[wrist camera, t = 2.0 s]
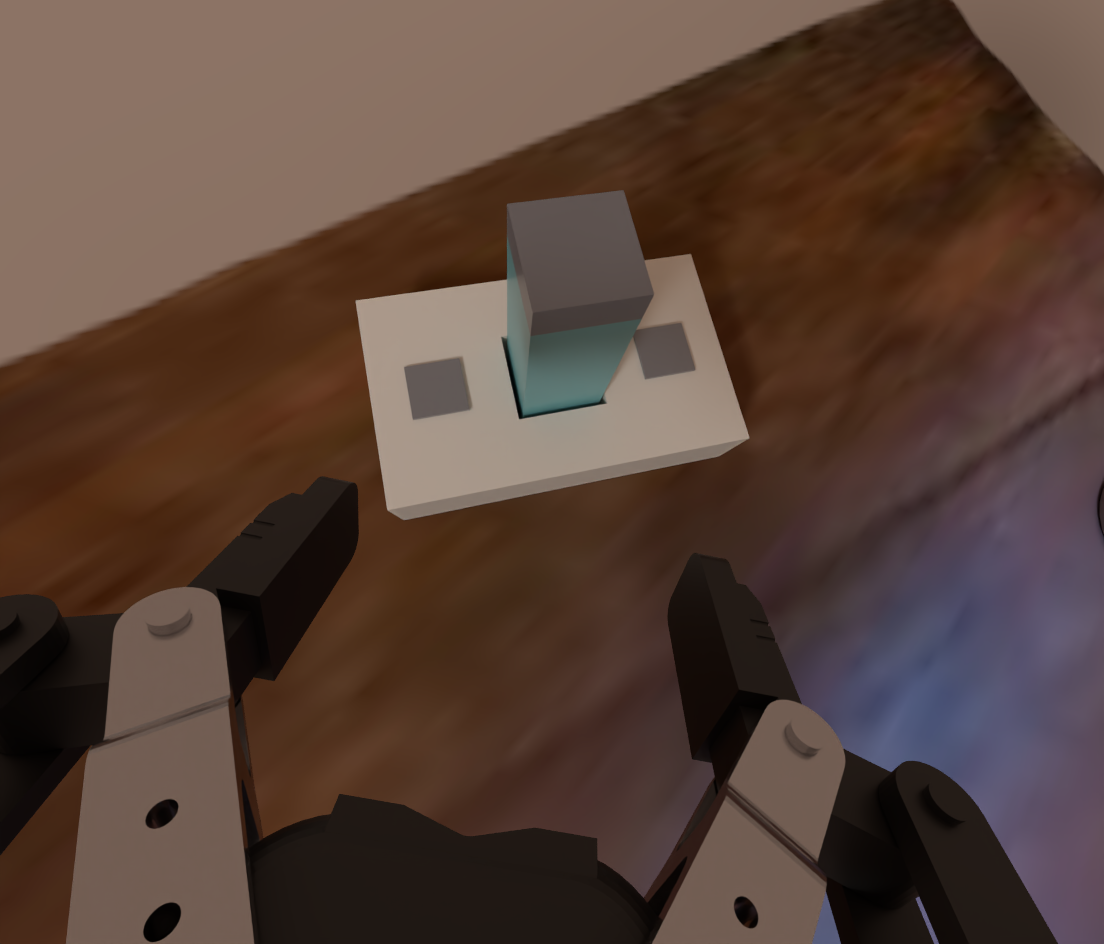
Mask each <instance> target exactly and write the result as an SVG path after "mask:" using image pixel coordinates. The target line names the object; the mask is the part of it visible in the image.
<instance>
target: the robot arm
mask: <svg viewBox="0 0 1104 944" xmlns="http://www.w3.org/2000/svg"><path fill="white" fill-rule="evenodd" d="M1100 520H1101V526H1102V530H1103V533H1104V489H1103V491H1102V495H1101V499H1100ZM358 534H359V530H358V489H357V485H356V484H355V483H353V482H348V481H343V480H338V479H333V478H328V477H323V476H322V477H319V478H318V479H317V480H316V481H315V482H314V483H313V484H312V485H311V486H310V487H309V488H308V489H307V490H306V491H305V492H304V494H303V495H300V494H295V493H291V494H289V495H287V496H285V497H283V498H281V499H279V500H277V501H275V502H273V503H271V504H269V505H268V506H267V507H266V508H265V509H264V510H263V511H262V512H261V513H260V514H259V515H258V516H257V517H256V518H255V519H254V522H253V523H250V524H249V525H248V526H247V527H246V528H245V529H244V530H243V531H242V532H241V535H240V536H237V537H236V538H235V539H234V540H233V541H232V542H231V543H230V544H229V545H228V546H227V547H226V548H225V549H224V550H223V551H222V552H221V553H220V554H219V555H218V556H217V557H216V558H215V559H214V560H213V561H212V562H211V563H210V564H209V565H208V566H207V567H206V568H205V569H204V570H203V571H202V572H201V573H200V574H199V575H198V576H197V577H196V578H195V579H194V580H193V581H192V582H191V583H190V584H189V585H188V586H187V587H181V588H174V589H168V590H165V591H161V592H158V593H155V594H153V595H150V596H148V597H146V598H144V599H142V600H141V601H139V602H137V603H136V604H134V605H133V606H132V607H130V608H129V609H128V610H127V611H126V612H125V613H120V614H106V615H92V616H77V617H62V616H61V614H60V612H59V610H58V608H57V606H56V604H55V603H54V602H53V601H52V600H50V599H48V598H46V597H43V596H39V595H29V594H25V595H12V596H6V597H1V598H0V855H1V854H2V852H3V851H4V850H5V849H6V848H7V846H8V845H9V844H10V843H11V842H12V840H13V839H14V838H15V837H16V835H17V834H18V833H19V832H20V831H21V829H22V828H23V827H24V826H25V824H26V823H27V822H28V821H29V820H30V818H31V817H32V816H33V815H34V813H35V812H36V811H37V810H38V809H39V807H40V806H41V805H42V804H43V802H44V801H45V800H46V799H47V798H48V796H49V795H50V794H51V793H52V792H53V790H54V789H55V788H56V787H57V785H58V784H59V783H60V782H61V781H62V779H63V778H64V777H65V776H66V774H67V773H68V772H69V771H70V770H71V768H72V767H73V766H74V765H75V763H76V762H77V761H78V760H79V759H80V757H81V756H82V755H83V754H84V752H85V751H86V750H87V749H88V748H89V746H90V745H92V747H91V748H90V750H89V753H88V756H87V760H86V766H85V774H84V783H83V793H82V802H81V811H80V820H79V829H78V839H77V848H76V857H75V866H74V875H73V885H72V894H71V903H70V912H69V921H68V930H67V940H66V944H812V941H813V937H814V934H815V930H816V926H817V922H818V918H819V915H820V911H821V907H822V903H823V899H824V895H825V891H826V893H827V896H828V900H829V903H830V907H831V910H832V914H833V917H834V920H835V924H836V927H837V931H838V934H839V938H840V941H841V944H934V942H933V940H932V938H931V935H930V933H929V930H928V928H927V926H926V923H925V921H924V918H923V916H922V913H921V911H920V909H919V906H918V904H917V901H916V899H915V898H917V897H920V899H921V901H922V904H923V906H924V909H925V911H926V913H927V916H928V918H929V920H930V923H931V925H932V928H933V930H934V932H935V935H936V937H937V939H938V942H939V944H1058V943H1057V941H1056V939H1055V938H1054V936H1053V934H1052V932H1051V931H1050V929H1049V927H1048V926H1047V924H1046V922H1045V920H1044V919H1043V917H1042V915H1041V913H1040V912H1039V910H1038V908H1037V907H1036V905H1035V903H1034V901H1033V900H1032V898H1031V896H1030V894H1029V893H1028V891H1027V889H1026V888H1025V886H1024V884H1023V882H1022V881H1021V879H1020V877H1019V875H1018V874H1017V872H1016V870H1015V869H1014V867H1013V865H1012V863H1011V862H1010V860H1009V858H1008V856H1007V855H1006V853H1005V851H1004V850H1003V848H1002V846H1001V844H1000V843H999V841H998V839H997V837H996V836H995V834H994V832H993V831H992V829H991V827H990V825H989V824H988V822H987V820H986V818H985V817H984V815H983V813H982V812H981V810H980V809H979V807H978V806H977V805H976V803H975V802H974V801H973V799H972V798H971V797H970V796H969V795H968V794H967V793H966V792H965V791H964V790H963V789H962V788H961V787H960V786H959V785H958V784H957V783H956V782H955V781H953V780H952V779H951V778H950V777H948V776H947V775H945V774H944V773H943V772H941V771H939V770H938V769H936V768H934V767H932V766H930V765H927V764H925V763H922V762H917V761H906V762H903V763H902V764H900V765H899V766H898V767H897V768H896V769H895V770H894V771H892V772H890V771H887V770H885V769H883V768H881V767H879V766H877V765H875V764H873V763H871V762H869V761H867V760H865V759H863V758H861V757H859V756H857V755H855V754H853V753H851V752H849V751H847V750H845V749H843V747H842V745H841V742H840V741H839V739H838V737H837V735H836V734H835V732H834V731H833V730H832V728H831V727H830V726H829V725H828V724H827V723H826V722H825V721H824V720H823V719H822V718H821V717H820V716H819V715H818V714H816V713H815V712H814V711H812V710H811V709H809V708H808V707H806V706H804V705H802V703H801V701H800V698H799V696H798V694H797V691H796V689H795V686H794V684H793V681H792V679H791V676H790V674H789V672H788V669H787V667H786V664H785V662H784V659H783V657H782V654H781V652H780V649H779V647H778V645H777V643H775V637H774V635H773V632H772V630H771V627H770V626H768V623H769V622H768V620H767V618H766V615H765V613H764V610H763V608H762V605H761V603H760V602H759V601H758V600H757V598H756V597H755V596H754V595H753V594H752V592H751V591H750V590H749V589H748V588H747V586H746V585H743V584H738V583H736V580H735V577H734V575H733V572H732V569H731V566H730V564H729V562H728V561H727V560H726V559H723V558H718V557H713V556H708V555H703V554H698V553H694V554H692V555H691V557H690V558H689V560H688V562H687V565H686V567H685V569H684V571H683V573H682V575H681V577H680V579H679V582H678V584H677V586H676V588H675V590H674V592H673V594H672V597H671V599H670V603H669V608H668V626H669V632H670V637H671V643H672V649H673V654H674V660H675V665H676V671H677V677H678V682H679V688H680V693H681V699H682V705H683V710H684V716H685V722H686V727H687V733H688V738H689V744H690V750H691V755H692V759H694V760H699V761H705V762H710V763H712V765H713V770H714V775H715V777H714V778H713V780H712V781H711V783H710V784H709V786H708V788H707V789H706V791H705V793H704V795H703V797H702V799H701V800H700V802H699V804H698V806H697V808H696V810H695V811H694V813H693V815H692V817H691V819H690V820H689V822H688V824H687V826H686V828H685V830H684V831H683V833H682V835H681V837H680V839H679V841H678V842H677V844H676V846H675V848H674V850H673V851H672V853H671V855H670V857H669V859H668V860H667V862H666V864H665V865H664V867H663V868H662V870H661V872H660V873H659V875H658V876H657V878H656V879H655V881H654V882H653V884H652V885H651V887H650V889H649V890H648V892H647V894H646V895H645V897H644V898H643V897H642V896H641V895H640V894H639V893H638V891H637V890H636V889H635V888H634V887H633V886H632V885H631V884H630V883H629V882H628V881H626V880H625V879H624V878H623V877H622V876H621V875H620V874H618V873H617V872H616V871H614V870H613V869H611V868H610V867H608V866H607V865H606V864H604V863H602V862H600V861H598V860H597V838H591V837H585V836H580V835H574V834H568V833H562V832H557V831H551V830H545V829H539V828H530V829H522V830H515V831H508V832H501V833H494V834H486V835H479V836H463V835H461V834H459V833H457V832H455V831H453V830H451V829H449V828H447V827H445V826H443V825H441V824H439V823H437V822H435V821H434V820H432V819H430V818H428V817H426V816H424V815H422V814H420V813H418V812H416V811H414V810H412V809H410V808H409V807H407V806H405V805H401V804H395V803H389V802H383V801H378V800H372V799H366V798H360V797H354V796H349V795H343V794H339V796H338V799H337V801H336V803H335V806H334V808H333V811H332V813H331V814H329V815H322V816H317V817H314V818H310V819H306V820H302V821H300V822H297V823H295V824H292V825H290V826H287V827H284V828H282V829H280V830H278V831H277V832H275V833H273V834H271V835H269V836H267V837H265V838H263V832H262V826H261V820H260V814H259V809H258V804H257V799H256V793H255V786H254V779H253V772H252V764H251V757H250V750H249V742H248V735H247V727H246V720H245V712H244V705H243V699H242V693H243V692H244V691H245V689H246V688H247V686H248V685H249V683H250V682H251V680H252V679H253V677H255V678H261V679H266V680H272V681H275V679H276V677H277V676H278V674H279V673H280V671H281V670H282V668H283V666H284V665H285V663H286V662H287V660H288V659H289V657H290V655H291V654H292V652H293V651H294V649H295V648H296V646H297V644H298V643H299V641H300V640H301V638H302V637H303V635H304V633H305V632H306V630H307V629H308V627H309V626H310V624H311V622H312V621H313V619H314V618H315V616H316V615H317V613H318V611H319V610H320V608H321V607H322V605H323V604H324V602H325V600H326V599H327V597H328V596H329V594H330V593H331V591H332V589H333V588H334V586H335V585H336V583H337V581H338V580H339V578H340V577H341V575H342V574H343V572H344V570H345V569H346V567H347V566H348V564H349V563H350V561H351V559H352V557H353V555H354V553H355V550H356V546H357V542H358Z"/></svg>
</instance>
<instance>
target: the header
mask: <svg viewBox="0 0 1104 944" xmlns="http://www.w3.org/2000/svg"><path fill="white" fill-rule="evenodd" d="M644 261H645V264H646V268H647V271H648V275H649V278H650V281H651V285H652V288H653V291H654V296H653V298H652V300H651V302H650V304H649V306H648V308H647V310H646V312H645V314H644V316H643V318H642V320H641V322H640V324H639V325H638V327H637V329H636V331H635V333H634V335H633V337H632V339H631V341H630V343H629V345H628V347H627V349H626V351H625V353H624V355H623V357H622V359H621V361H620V363H619V365H618V367H617V369H616V370H615V372H614V374H613V376H612V378H611V380H610V382H609V384H608V386H607V388H606V390H605V392H604V394H603V396H602V398H601V400H600V402H599V404H598V405H596V406H591V407H585V408H579V409H574V410H568V411H563V412H557V413H552V414H546V415H541V416H535V417H530V418H524V419H519V417H518V413H517V408H516V404H515V399H514V394H513V390H512V385H511V381H510V376H509V371H508V367H507V280H501V281H494V282H486V283H479V284H472V285H465V286H458V287H450V288H443V289H436V290H429V291H422V292H415V293H407V294H400V295H393V296H386V297H379V298H372V299H364V300H357V301H356V306H357V313H358V320H359V326H360V333H361V339H362V346H363V352H364V359H365V366H366V372H367V379H368V385H369V392H370V399H371V405H372V412H373V418H374V425H375V431H376V438H377V445H378V451H379V458H380V464H381V471H382V477H383V484H384V491H385V497H386V504H387V510H388V511H390V512H391V513H393V514H395V515H396V516H398V517H400V518H401V519H403V520H408V519H413V518H417V517H422V516H427V515H432V514H437V513H442V512H447V511H452V510H457V509H462V508H467V507H472V506H477V505H482V504H486V503H491V502H496V501H501V500H506V499H511V498H516V497H521V496H526V495H531V494H536V493H541V492H546V491H550V490H555V489H560V488H565V487H570V486H575V485H580V484H585V483H590V482H595V481H600V480H605V479H610V478H614V477H619V476H624V475H629V474H634V473H639V472H644V471H649V470H654V469H659V468H664V467H669V466H674V465H678V464H683V463H688V462H693V461H698V460H703V459H708V458H713V457H718V456H720V455H722V454H724V453H725V452H727V451H729V450H730V449H732V448H734V447H735V446H737V445H739V444H740V443H742V442H744V441H745V440H747V439H749V435H748V432H747V429H746V426H745V423H744V419H743V416H742V413H741V410H740V407H739V404H738V401H737V398H736V394H735V391H734V388H733V385H732V382H731V379H730V376H729V372H728V369H727V366H726V363H725V360H724V357H723V354H722V350H721V347H720V344H719V341H718V338H717V335H716V332H715V328H714V325H713V322H712V319H711V316H710V313H709V310H708V307H707V303H706V300H705V297H704V294H703V291H702V288H701V285H700V281H699V278H698V275H697V272H696V269H695V266H694V263H693V259H692V256H691V254H687V255H680V256H673V257H666V258H659V259H651V260H644Z"/></svg>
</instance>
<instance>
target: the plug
mask: <svg viewBox="0 0 1104 944" xmlns="http://www.w3.org/2000/svg"><path fill="white" fill-rule="evenodd" d="M653 296H654V291H653V288H652V285H651V281H650V278H649V275H648V271H647V268H646V264H645V261H644V258H643V254H642V251H641V247H640V244H639V241H638V237H637V234H636V231H635V227H634V224H633V220H632V217H631V214H630V210H629V207H628V203H627V200H626V197H625V193H624V190H621V191H613V192H604V193H596V194H587V195H579V196H571V197H562V198H554V199H545V200H537V201H528V202H520V203H511V204H507V367H508V371H509V376H510V381H511V385H512V390H513V394H514V399H515V404H516V408H517V413H518V417H519V419H524V418H530V417H535V416H541V415H546V414H552V413H557V412H563V411H568V410H574V409H579V408H585V407H591V406H596V405H598V404H599V402H600V400H601V398H602V396H603V394H604V392H605V390H606V388H607V386H608V384H609V382H610V380H611V378H612V376H613V374H614V372H615V370H616V369H617V367H618V365H619V363H620V361H621V359H622V357H623V355H624V353H625V351H626V349H627V347H628V345H629V343H630V341H631V339H632V337H633V335H634V333H635V331H636V329H637V327H638V325H639V324H640V322H641V320H642V318H643V316H644V314H645V312H646V310H647V308H648V306H649V304H650V302H651V300H652V298H653Z"/></svg>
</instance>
